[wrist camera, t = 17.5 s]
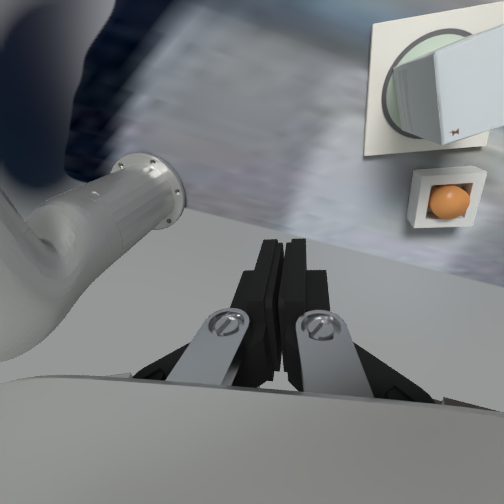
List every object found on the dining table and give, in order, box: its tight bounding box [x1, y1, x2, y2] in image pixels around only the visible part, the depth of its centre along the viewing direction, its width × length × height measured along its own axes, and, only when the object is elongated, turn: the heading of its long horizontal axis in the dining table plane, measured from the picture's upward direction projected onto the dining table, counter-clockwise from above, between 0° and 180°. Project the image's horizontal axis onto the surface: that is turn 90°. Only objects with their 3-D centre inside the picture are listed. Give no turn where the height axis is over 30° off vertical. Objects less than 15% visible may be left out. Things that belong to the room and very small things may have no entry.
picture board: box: [363, 1, 504, 156], centre depth 33 cm, size 14×14×1 cm
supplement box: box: [393, 24, 504, 146], centre depth 27 cm, size 7×7×13 cm
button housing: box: [406, 166, 487, 228], centre depth 38 cm, size 7×7×4 cm
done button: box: [428, 184, 470, 219], centre depth 37 cm, size 4×4×3 cm
